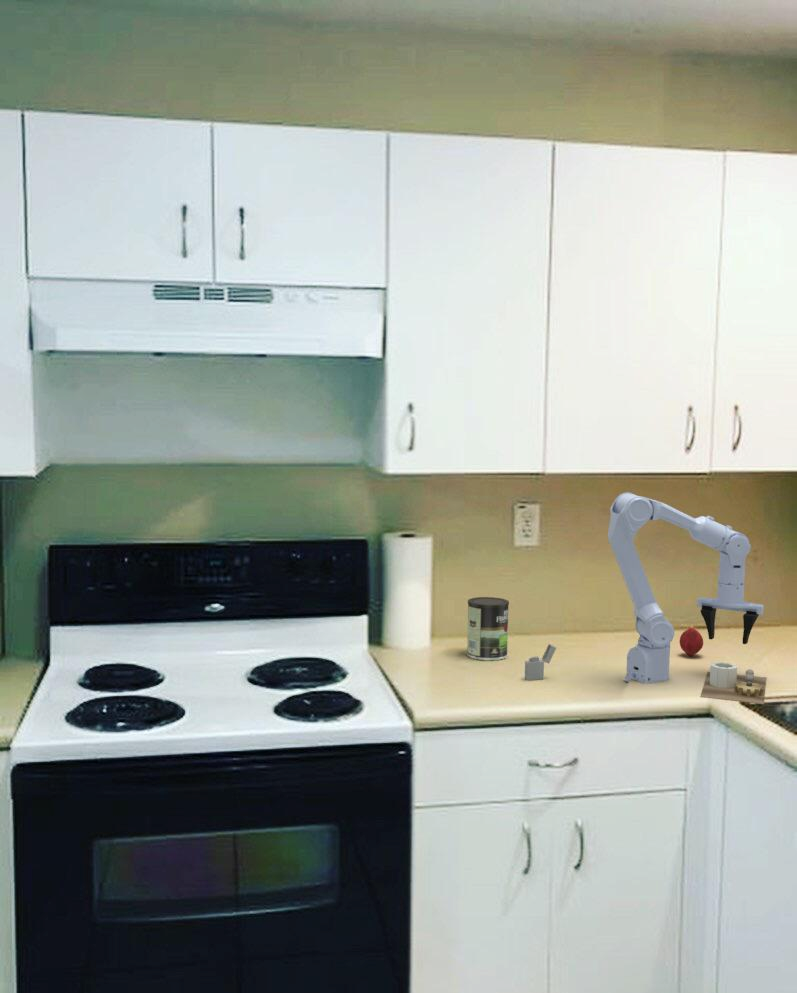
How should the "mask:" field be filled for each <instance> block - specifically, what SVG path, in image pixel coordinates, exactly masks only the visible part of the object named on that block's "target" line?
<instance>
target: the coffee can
mask: <svg viewBox="0 0 797 993" xmlns="http://www.w3.org/2000/svg"><path fill="white" fill-rule="evenodd" d="M509 604H510V601H509V600H508V599H505V598H500V597H495V596H494V597H491V596H479V597H472V598H468V600H467V651H466V652H467V653H466V655H468V656H469V657H468V656H467V657H468V658H470V659H473V658H474V659H473V660H477V659H478V660H479V661H489V662H490V661H491V662H492V661H501V659H502V660H505V659H507V658H508V640H509V639H508V637H509V636H508V632H509V628H508V627H509ZM506 657H507V658H506ZM504 658H505V659H504ZM478 660H477V661H478Z"/></svg>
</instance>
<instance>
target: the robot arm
mask: <svg viewBox="0 0 797 993" xmlns="http://www.w3.org/2000/svg"><path fill="white" fill-rule="evenodd" d="M609 511H610V518H609V525H608V530H607V532H608V533H607V539H608V543H609V545H610V548H611V550H612V553H613V555H614V557H615V560H616V563H617V565H618V569H619V570H620V574H621V575H622V579H623V580H624V583H625V585H626V586H625V587H626V589H627V591H628V593H629V596H630V599H631V601H632V604H633V606H634V609H633V614H634V616H635V630H636V632H637V633H638V635H639V636H638V639H637V644H636V645H635V646H634V647H631V648H630V649H629V650H628V652H627V655H626V673H625V675H626V676H625V677H624V678H623V681H625V682H627V683H630V681H631V680H633V681H637V682H639V683H642V684H650V683H656V682H657V683H658V682H666V681H669V678H670V658H671V657H670V655H671V654H670V653H671V642H673V639H674V637H675V628H674V626H673V625H672V623H671V622H670V621H669V620H667V618H666V616H665V613H664V612H663V611H662V610H663V609H661V607H660V605H659V604H658V603H657V600H656V598H655V595H654V592H653V590H652V587H651V584H650V582H649V580H648V576H647V575H646V571H645V569H644V567H643V564H642V561H641V558H640V557H639V553H638V551H637V549H636V546H635V543H634V538H635V536H636V534H637V533H638V531H639V530H640V529H641V528H642V527H643V526H644V525H645V524H646V523H647V522H648V521H657V520H663V521H664V522H665V521H666V522H668V523H670V524H672V525H675V526H677V527H679V528H682V529H684V530H687V531H688V533H689V536H690V538H691V539H692V540H694V541H696V542H699V543H700V544H703V545H705V546H708V547H710V548H712V549H714V550H715V551H718V552H719V563H718V577H717V578H718V580H717V581H718V582H717V598H715V597H712V598H711V597H701V596H700V597H697V602H696V606H697V608H698V607H699V608H701V609H700V613H701V616H702V618H703V621H704V622H705V626H706V630H707V634H708V639H709V640H711V641H712V640H713V639H714V638H715V630H716V629H715V628H716V627H715V623H716V614H717V609H719V610H725V611H726V610H728V611H734V612H741V613H744V614H743V616H742V618H743V632H742V633H743V634H742V644H743V645H747V644H748V642H749V639H750V638H749V637H750V635H751V632H752V629H753V627H754V624H756V623H755V622H756V621H757V619H758V618H759V615H763V614H764V609H765V608H764V606H765V605H764V604H759V603H755V602H748V601H744V598H745V597H744V596H745V594H744V593H745V576H746V557H747V555H749V553H750V551H751V548H752V545H751V544H750V540H749V538H748V537H747V535H745V534H744V533H741V532H738V531H736V530H733V527H732V526H731V525H728V524H726V526H725V525H723V524H721V523H720V522H716V521H715V518H714V517H712V516H710V515H706V516H703V515H701V516H698V517H696V518H695V517H693V516H690V515H689V514H686V513H684V512H682V511H680V510H678V509H677V508H674V507H672V506H671V505H669V504H666V503H664V502H662V501H658V500H654V499H653V498H652V499H651V498H649V497H645V496H643V495H642V496H641V495H640V496H639V495H636V494H634V493H632V492H623V493H621V494H619V495H618V496H617V497H616V498H615V500H614V501H613V503H612V505H611V506H610V510H609Z"/></svg>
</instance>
